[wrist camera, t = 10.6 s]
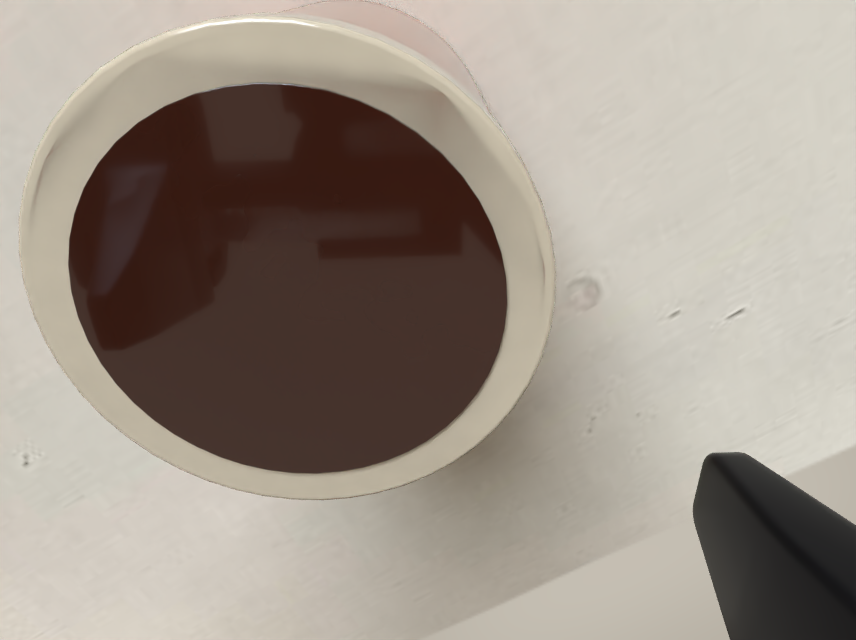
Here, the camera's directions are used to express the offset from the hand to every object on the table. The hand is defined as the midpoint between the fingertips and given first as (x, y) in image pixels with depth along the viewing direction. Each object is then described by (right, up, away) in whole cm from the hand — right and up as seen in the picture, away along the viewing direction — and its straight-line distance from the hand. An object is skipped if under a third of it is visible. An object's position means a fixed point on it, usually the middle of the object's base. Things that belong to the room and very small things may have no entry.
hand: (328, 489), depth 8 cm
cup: (-1, +1, +7) cm, 7 cm away
